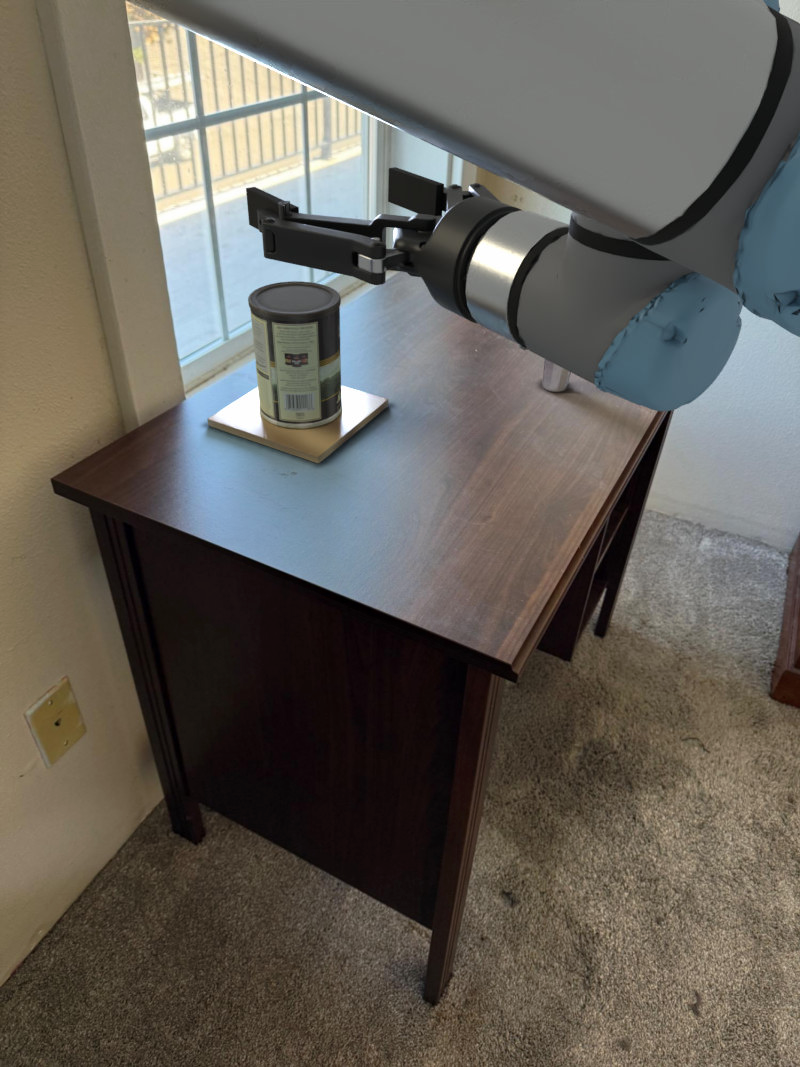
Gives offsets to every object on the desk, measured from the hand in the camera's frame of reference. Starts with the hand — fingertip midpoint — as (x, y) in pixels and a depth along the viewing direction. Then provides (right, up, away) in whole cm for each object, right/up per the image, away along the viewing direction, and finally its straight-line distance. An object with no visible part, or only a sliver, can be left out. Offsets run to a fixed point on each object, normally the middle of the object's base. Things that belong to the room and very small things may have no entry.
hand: (325, 194), depth 61 cm
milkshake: (+27, -8, +40) cm, 49 cm away
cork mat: (-6, -13, +31) cm, 35 cm away
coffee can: (-6, -13, +31) cm, 34 cm away
